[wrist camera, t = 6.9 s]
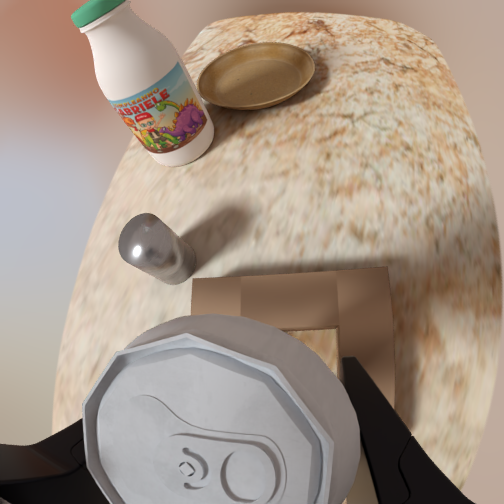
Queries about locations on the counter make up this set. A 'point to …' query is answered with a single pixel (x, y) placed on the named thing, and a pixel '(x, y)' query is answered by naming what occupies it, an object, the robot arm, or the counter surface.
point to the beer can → (220, 418)
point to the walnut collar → (315, 311)
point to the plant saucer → (255, 76)
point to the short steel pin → (156, 249)
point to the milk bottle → (146, 82)
